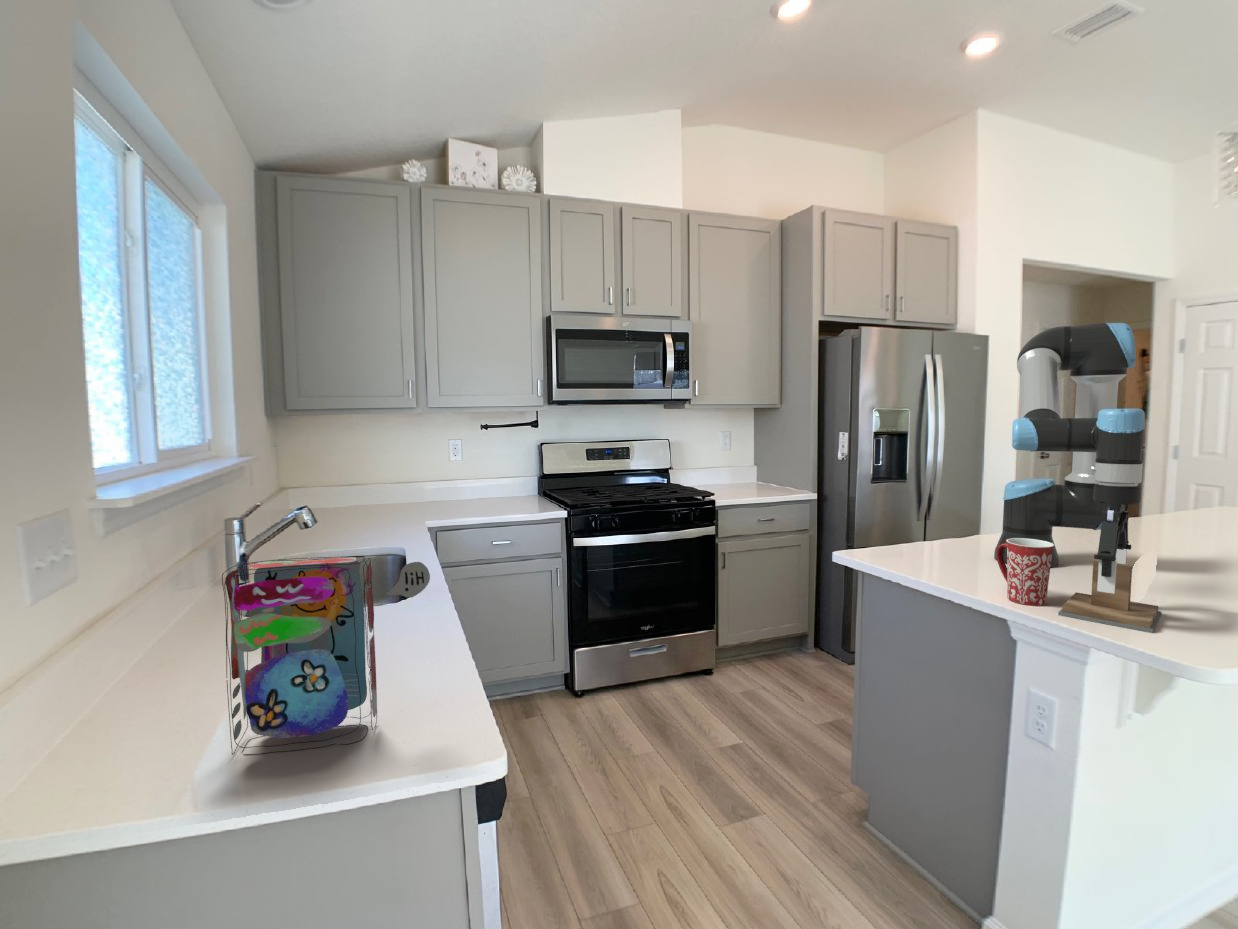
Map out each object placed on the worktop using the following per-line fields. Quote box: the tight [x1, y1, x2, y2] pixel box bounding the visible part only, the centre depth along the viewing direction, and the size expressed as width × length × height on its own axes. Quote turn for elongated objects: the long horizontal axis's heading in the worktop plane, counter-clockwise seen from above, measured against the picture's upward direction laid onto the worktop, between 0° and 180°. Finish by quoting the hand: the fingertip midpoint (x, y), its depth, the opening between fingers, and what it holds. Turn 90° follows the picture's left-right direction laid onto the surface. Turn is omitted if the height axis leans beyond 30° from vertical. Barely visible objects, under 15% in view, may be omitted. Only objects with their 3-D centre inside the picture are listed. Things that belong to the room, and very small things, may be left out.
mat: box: [1057, 608, 1163, 634], centre depth 127 cm, size 15×15×1 cm
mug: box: [996, 538, 1055, 607], centre depth 138 cm, size 13×9×14 cm
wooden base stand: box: [1061, 559, 1159, 629], centre depth 127 cm, size 14×14×10 cm
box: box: [221, 555, 431, 756], centre depth 83 cm, size 25×6×24 cm, turn 102°
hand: (1111, 585), depth 127 cm, fingers open, 13 cm apart
